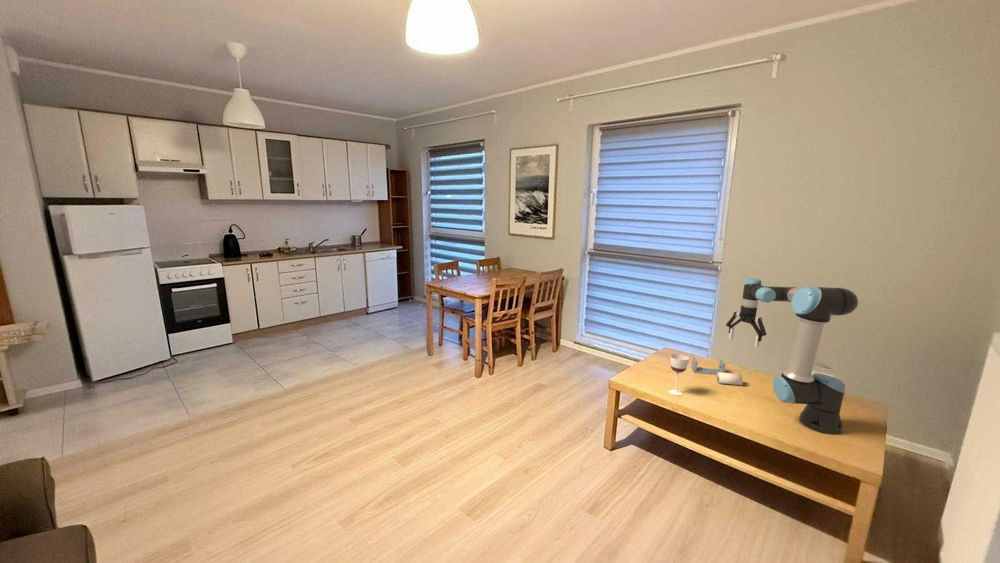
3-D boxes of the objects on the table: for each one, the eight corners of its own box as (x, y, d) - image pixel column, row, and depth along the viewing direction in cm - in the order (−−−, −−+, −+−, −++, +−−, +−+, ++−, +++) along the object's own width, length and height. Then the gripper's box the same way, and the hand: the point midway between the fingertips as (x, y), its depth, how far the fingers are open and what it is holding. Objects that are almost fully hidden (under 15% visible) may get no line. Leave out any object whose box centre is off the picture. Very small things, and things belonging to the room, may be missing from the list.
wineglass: (687, 396, 204) (691, 360, 200) (670, 396, 205) (674, 359, 200) (680, 389, 212) (684, 354, 208) (664, 388, 212) (668, 353, 208)
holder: (723, 375, 230) (725, 364, 229) (694, 372, 233) (695, 361, 232) (720, 370, 236) (721, 359, 235) (691, 368, 239) (692, 357, 238)
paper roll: (737, 382, 222) (739, 372, 221) (742, 387, 216) (743, 376, 215) (716, 380, 224) (717, 370, 223) (719, 384, 218) (721, 374, 217)
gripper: (777, 310, 209) (771, 348, 214) (729, 300, 229) (724, 335, 234) (771, 312, 205) (764, 351, 209) (722, 302, 225) (717, 337, 230)
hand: (743, 342), depth 222 cm, fingers open, 13 cm apart
